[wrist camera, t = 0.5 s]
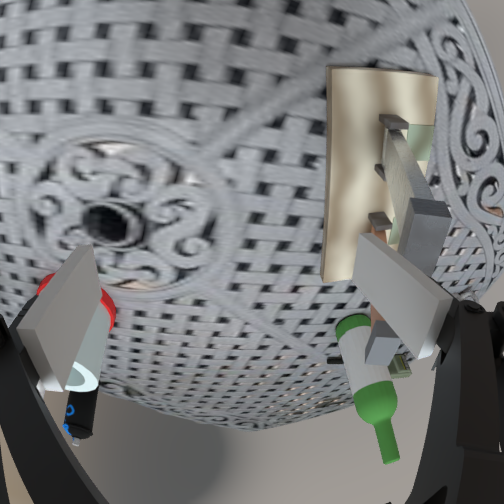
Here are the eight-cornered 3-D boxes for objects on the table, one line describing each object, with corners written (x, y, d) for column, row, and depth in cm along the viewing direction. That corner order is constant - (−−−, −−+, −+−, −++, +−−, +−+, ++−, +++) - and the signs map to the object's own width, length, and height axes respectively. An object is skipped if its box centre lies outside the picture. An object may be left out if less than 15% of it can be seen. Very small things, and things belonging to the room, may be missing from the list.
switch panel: (320, 274, 50) (327, 297, 46) (326, 66, 29) (341, 73, 25) (396, 262, 50) (407, 283, 46) (429, 74, 29) (453, 83, 25)
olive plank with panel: (398, 359, 77) (323, 360, 71) (405, 352, 75) (329, 353, 69) (406, 378, 72) (329, 384, 66) (413, 372, 70) (336, 377, 64)
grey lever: (376, 163, 35) (397, 274, 22) (380, 121, 32) (414, 213, 18) (397, 166, 35) (430, 277, 21) (403, 124, 31) (452, 218, 17)
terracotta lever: (363, 249, 45) (364, 364, 31) (369, 218, 41) (375, 336, 27) (381, 251, 44) (388, 365, 30) (388, 220, 40) (403, 338, 27)
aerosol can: (102, 377, 70) (92, 447, 55) (98, 387, 75) (89, 451, 60) (73, 367, 67) (60, 437, 52) (71, 378, 71) (59, 442, 56)
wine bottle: (326, 332, 62) (360, 471, 39) (348, 309, 57) (393, 458, 35) (355, 336, 64) (391, 464, 42) (376, 315, 60) (422, 450, 37)
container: (40, 312, 52) (19, 373, 41) (40, 260, 43) (7, 330, 32) (109, 337, 58) (97, 400, 47) (124, 291, 49) (107, 367, 38)
